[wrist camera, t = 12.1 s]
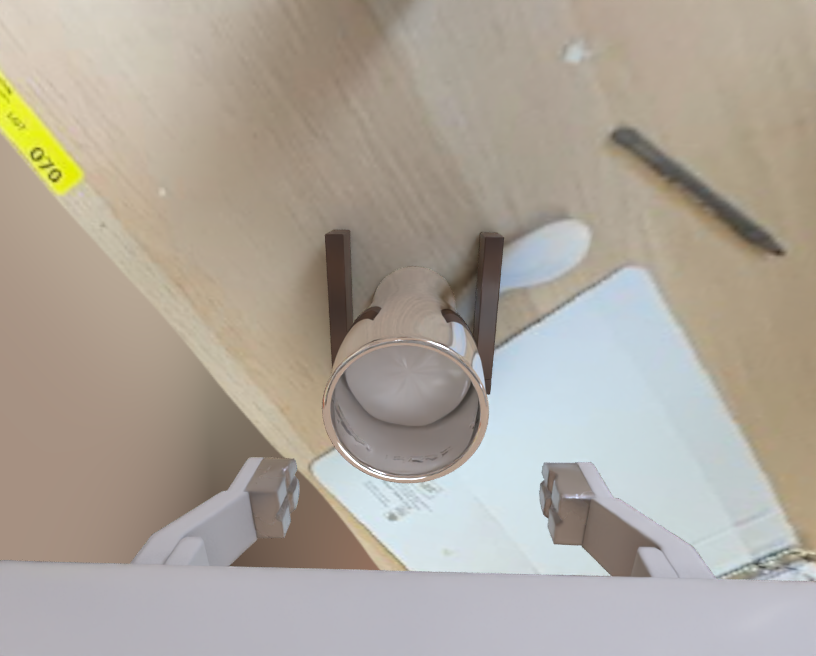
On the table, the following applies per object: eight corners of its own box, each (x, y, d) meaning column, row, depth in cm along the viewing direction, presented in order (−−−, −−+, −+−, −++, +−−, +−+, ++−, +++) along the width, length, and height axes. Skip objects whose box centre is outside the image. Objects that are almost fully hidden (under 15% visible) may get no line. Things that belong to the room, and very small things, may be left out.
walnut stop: (332, 229, 28) (324, 233, 26) (497, 232, 28) (504, 236, 26) (339, 375, 32) (333, 390, 30) (485, 379, 32) (490, 394, 29)
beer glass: (355, 333, 31) (297, 459, 17) (384, 245, 29) (344, 306, 15) (441, 362, 32) (455, 507, 17) (476, 278, 29) (524, 368, 15)
